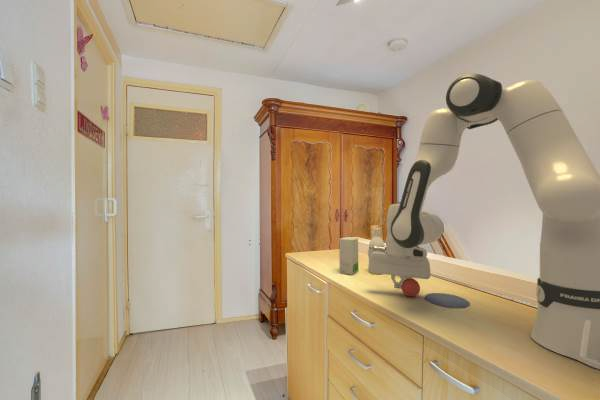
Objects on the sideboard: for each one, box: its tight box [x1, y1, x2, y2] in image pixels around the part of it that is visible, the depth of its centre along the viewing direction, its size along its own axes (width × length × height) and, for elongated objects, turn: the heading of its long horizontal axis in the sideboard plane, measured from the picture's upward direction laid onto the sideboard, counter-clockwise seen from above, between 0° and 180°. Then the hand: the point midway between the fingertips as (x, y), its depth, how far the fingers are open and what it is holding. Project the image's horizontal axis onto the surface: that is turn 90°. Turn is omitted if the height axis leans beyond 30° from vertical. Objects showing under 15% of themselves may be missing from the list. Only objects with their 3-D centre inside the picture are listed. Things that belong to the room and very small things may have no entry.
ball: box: [400, 278, 421, 298], centre depth 95 cm, size 6×6×6 cm
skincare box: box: [338, 236, 359, 276], centre depth 125 cm, size 8×7×16 cm
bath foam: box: [368, 227, 386, 275], centre depth 125 cm, size 7×7×20 cm
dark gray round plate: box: [424, 292, 471, 309], centre depth 91 cm, size 13×13×1 cm
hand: (397, 287), depth 96 cm, fingers closed
